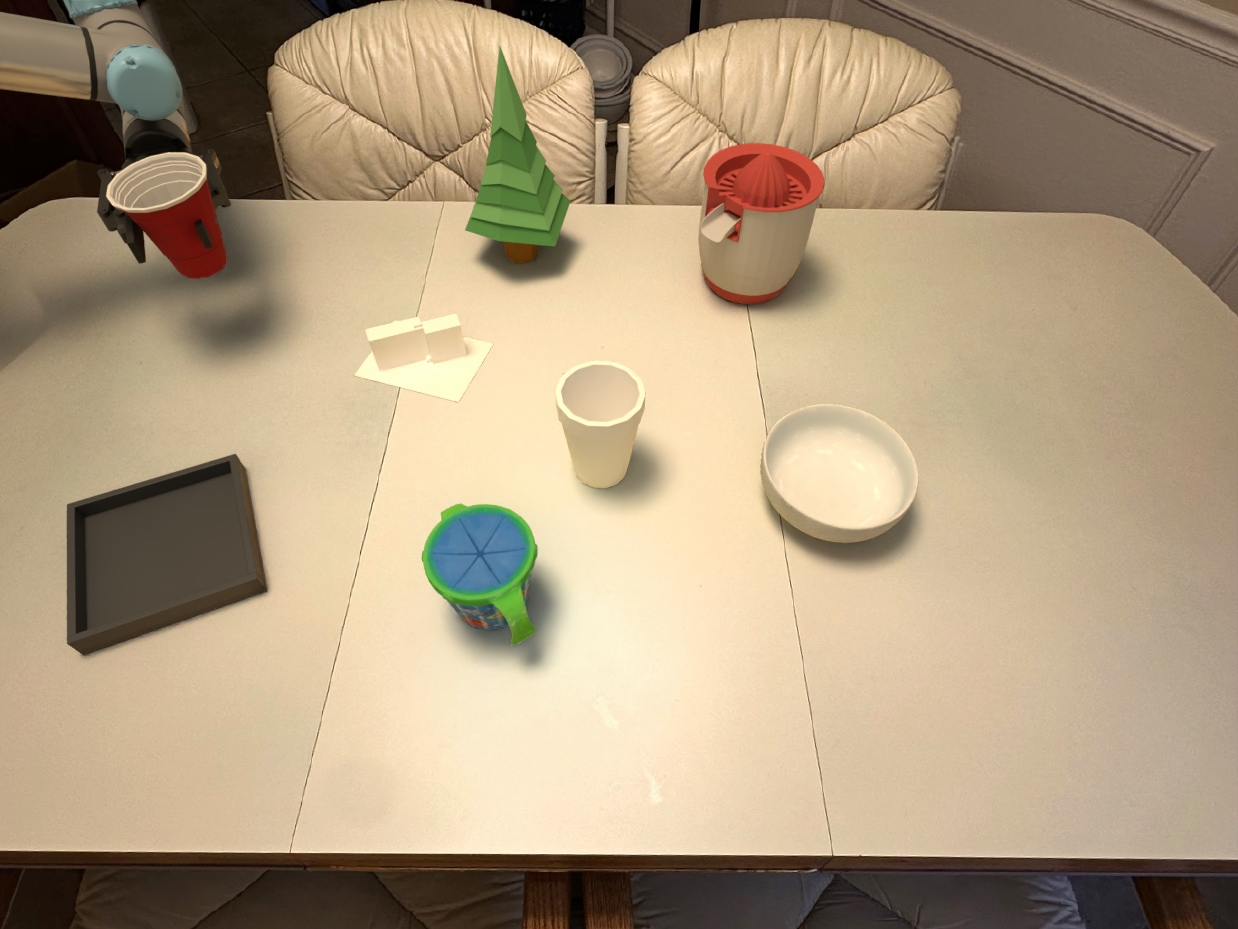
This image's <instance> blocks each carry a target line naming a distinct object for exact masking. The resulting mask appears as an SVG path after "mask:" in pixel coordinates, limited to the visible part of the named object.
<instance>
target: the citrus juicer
mask: <svg viewBox="0 0 1238 929" xmlns="http://www.w3.org/2000/svg"><path fill="white" fill-rule="evenodd" d="M702 176H703V180H704V182H703V191H702V200H701V209H700V217H699V226H698V239H697V240H698V241H697V242H698V251H699V252H698V253H699V257H700V265H701V270H702V273H703V276H704V279H705V281H706V283H707V286H708V287H709V288H710V290H711V291H712V292H714V293H715V294H716V295H718V296H719V297H721V298H723V299H724V300H727V301H730V302H734V303H738V304H744V305H753V304H754V305H755V304H760V303H761V304H763V303H765V302H768V301H771V300H772V299H774V298H776V297H777V296H778V295H779V294H781V292H782V291H783V290H784V289H785V288H786V287H787V285H788V284H789V283H790V281H791V280H792V278H793V275H794V274H795V273H796V271H797V269H798V267H799V265H800V263H801V261H802V259H803V257H804V254H805V251H806V247H807V244H808V241H809V238H810V233H811V230H812V226H813V223H814V218H815V215H816V211H817V207H818V202H819V199H820V196H821V195H822V194H823V191H824V188H825V177H824V174H823V172H822V169H821V168H820V167H819V166H818V164H817V163H816V162H814V160H812V159H811V158H810V157H808V156H806V155H805V154H803V153H801V152H799V151H796V150H794V149H792V148H790V147H789V148H788V147H785V146H782V145H777V144H773V143H764V142H763V143H762V142H747V143H740V144H735V145H732V146H727V147H725V148H723V149H721V150H718V151H716V152H715V153H714V154H713V155H711V156H710V157H709V159H708V160H707V161H706V163H705V165H704V167H703V172H702Z"/></svg>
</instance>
